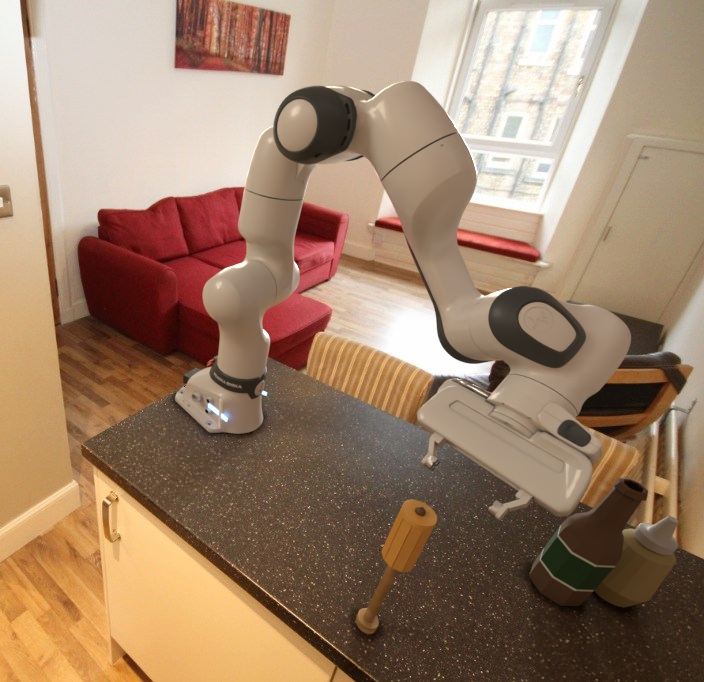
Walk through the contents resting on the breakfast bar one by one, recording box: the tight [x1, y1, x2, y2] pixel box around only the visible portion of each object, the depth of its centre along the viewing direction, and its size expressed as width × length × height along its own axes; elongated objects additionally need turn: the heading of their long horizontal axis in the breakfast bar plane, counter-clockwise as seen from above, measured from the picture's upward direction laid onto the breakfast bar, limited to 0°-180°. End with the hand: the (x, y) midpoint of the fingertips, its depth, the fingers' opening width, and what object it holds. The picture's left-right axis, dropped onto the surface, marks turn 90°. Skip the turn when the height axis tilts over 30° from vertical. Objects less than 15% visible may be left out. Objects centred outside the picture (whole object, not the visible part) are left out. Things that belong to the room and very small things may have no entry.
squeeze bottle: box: [593, 515, 679, 608], centre depth 71 cm, size 8×8×18 cm
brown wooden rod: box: [355, 564, 399, 635], centre depth 61 cm, size 3×3×24 cm
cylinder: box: [381, 499, 438, 573], centre depth 57 cm, size 4×4×10 cm
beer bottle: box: [528, 477, 649, 607], centre depth 69 cm, size 8×8×24 cm
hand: (457, 489), depth 60 cm, fingers open, 8 cm apart
